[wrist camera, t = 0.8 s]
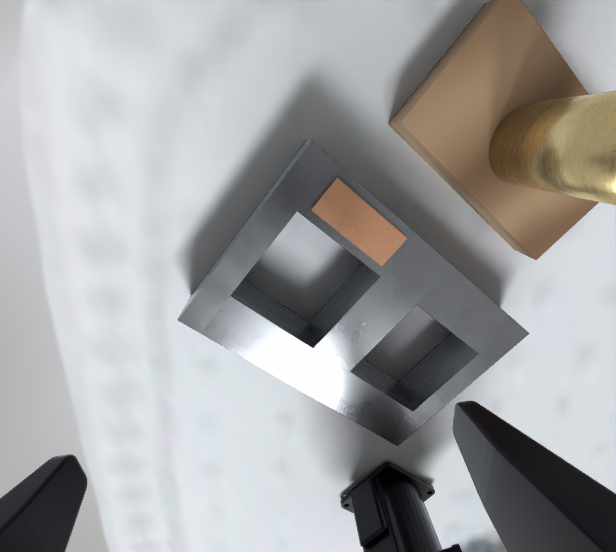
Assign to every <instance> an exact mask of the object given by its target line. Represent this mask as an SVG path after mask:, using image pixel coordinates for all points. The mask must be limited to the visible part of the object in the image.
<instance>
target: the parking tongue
mask: <svg viewBox="0 0 616 552" xmlns="http://www.w3.org/2000/svg"><path fill="white" fill-rule="evenodd" d="M582 95H589V94H588V93H587V92H586V90H585V89H584V87H583V86H582V85H581V83H580V82H579V80H578V79H577V77H576V76H575V75H574V73H573V72H572V70H571V69H570V68H569V66H568V65H567V63H566V62H565V60H564V59H563V58H562V56H561V55H560V53H559V52H558V51H557V49H556V48H555V46H554V45H553V43H552V42H551V41H550V39H549V38H548V36H547V35H546V34H545V32H544V31H543V29H542V28H541V26H540V25H539V24H538V22H537V21H536V19H535V18H534V17H533V15H532V14H531V12H530V11H529V9H528V8H527V7H526V5H525V4H524V2H523V1H522V0H490V1H489V2H487V3H486V4H485V5H484V6H483V8H482V9H481V10H480V11H479V13H478V14H477V15H476V16H475V18H474V19H473V20H472V21H471V22H470V24H469V25H468V26H467V27H466V29H465V30H464V31H463V32H462V34H461V35H460V36H459V37H458V39H457V40H456V41H455V42H454V43H453V45H452V46H451V47H450V48H449V50H448V51H447V52H446V53H445V55H444V56H443V57H442V58H441V60H440V61H439V62H438V63H437V64H436V66H435V67H434V68H433V69H432V71H431V72H430V73H429V74H428V76H427V77H426V78H425V79H424V81H423V82H422V83H421V84H420V86H419V87H418V88H417V89H416V90H415V92H414V93H413V94H412V95H411V97H410V98H409V99H408V100H407V102H406V103H405V104H404V105H403V107H402V108H401V109H400V110H399V111H398V113H397V114H396V115H395V116H394V118H393V119H392V120H391V121H390V123H389V125H390V126H391V127H392V128H393V129H394V130H395V131H396V132H397V133H398V134H399V135H400V136H401V137H402V138H403V139H404V140H405V141H406V142H407V143H408V144H409V145H410V146H411V147H412V148H413V149H414V150H415V151H416V152H417V153H418V154H419V155H420V156H421V157H422V158H423V159H424V160H425V161H426V162H427V163H428V164H429V165H430V166H431V167H432V168H433V169H434V170H435V171H436V172H437V173H438V174H439V175H440V176H441V177H442V178H443V179H444V180H445V181H446V182H447V183H448V184H449V185H450V186H451V187H452V188H453V189H454V190H455V191H456V192H457V193H458V194H459V195H460V196H461V197H462V198H463V199H464V200H465V201H466V202H467V203H468V204H469V205H470V206H471V207H472V208H473V209H474V210H475V211H476V212H477V213H478V214H479V215H480V216H481V217H482V218H483V219H484V220H485V221H486V222H487V223H488V224H489V225H490V226H491V227H492V228H493V229H494V230H495V231H496V232H497V233H498V234H499V235H500V236H501V237H502V238H503V239H504V240H505V241H506V242H507V243H508V244H509V245H510V246H511V247H512V248H513V249H514V250H516V251H518V252H520V253H522V254H525V255H527V256H529V257H531V258H533V259H535V260H537V259H538V258H539V257H540V256H541V255H542V254H543V253H545V252H546V251H547V250H548V249H549V248H550V247H551V246H552V245H553V244H554V243H555V242H556V241H558V240H559V239H560V238H561V237H562V236H563V235H564V234H565V233H566V232H567V231H568V230H569V229H571V228H572V227H573V226H574V225H575V224H576V223H577V222H578V221H579V220H580V219H581V218H582V217H584V216H585V215H586V214H587V213H588V212H589V211H590V210H591V209H592V208H593V207H594V206H595V205H597V204H598V203H599V202H597V201H593V200H588V199H583V198H578V197H573V196H568V195H563V194H558V193H553V192H548V191H543V190H538V189H533V188H528V187H523V186H518V185H513V184H509V183H506V182H504V181H502V180H500V179H499V178H498V177H497V176H496V175H495V174H494V172H493V170H492V168H491V166H490V161H489V147H490V142H491V139H492V136H493V134H494V132H495V130H496V128H497V127H498V125H499V124H500V122H501V121H502V120H503V119H504V118H505V117H506V116H507V115H508V114H509V113H510V112H511V111H513V110H514V109H516V108H517V107H519V106H521V105H524V104H527V103H532V102H539V101H546V100H553V99H561V98H568V97H575V96H582Z"/></svg>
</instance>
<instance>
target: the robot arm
mask: <svg viewBox="0 0 616 552" xmlns="http://www.w3.org/2000/svg"><path fill="white" fill-rule="evenodd" d="M453 433H454V437H455V439H456V442H457V444H458V447H459V449H460V451H461V454H462V456H463V459H464V461H465V463H466V466H467V468H468V471H469V473H470V475H471V478H472V480H473V482H474V485H475V487H476V490H477V492H478V494H479V497H480V499H481V501H482V503H483V506H484V508H485V510H486V512H487V514H488V516H489V518H490V519H491V521H492V523H493V525H494V527H495V529H496V531H497V533H498V535H499V536H500V538H501V540H502V542H503V544H504V546H505V548H506V550H507V552H616V494H615V493H614V492H612V491H611V490H609V489H608V488H606V487H605V486H603V485H602V484H600V483H599V482H597V481H596V480H594V479H592V478H591V477H589V476H588V475H586V474H585V473H583V472H582V471H580V470H579V469H577V468H576V467H574V466H573V465H571V464H570V463H568V462H567V461H565V460H564V459H562V458H561V457H559V456H557V455H556V454H554V453H553V452H551V451H550V450H548V449H547V448H545V447H544V446H542V445H541V444H539V443H538V442H536V441H535V440H533V439H532V438H530V437H529V436H527V435H526V434H524V433H522V432H521V431H519V430H518V429H516V428H515V427H513V426H512V425H510V424H509V423H507V422H506V421H504V420H503V419H501V418H500V417H498V416H497V415H495V414H494V413H492V412H490V411H489V410H487V409H486V408H484V407H483V406H481V405H480V404H478V403H477V402H474V401H466V402H459V403H457V404H456V405H455V411H454V420H453ZM86 488H87V477H86V475H85V473H84V471H83V469H82V467H81V465H80V464H79V462H78V460H77V458H76V457H75V456H74V455H62V456H56V457H53V458H51V459H50V460H48V461H47V462H46V463H44V464H43V465H42V466H41V467H39V468H38V469H37V470H36V471H35V472H33V473H32V474H31V475H29V476H28V477H27V478H26V479H24V480H23V481H22V482H21V483H19V484H18V485H17V486H16V487H14V488H13V489H12V490H11V491H9V492H8V493H7V494H5V495H4V496H3V497H2V498H0V552H65V550H66V548H67V545H68V542H69V539H70V536H71V533H72V530H73V527H74V524H75V521H76V518H77V515H78V512H79V509H80V506H81V503H82V500H83V497H84V494H85V491H86ZM434 493H435V490H434V488H433V486H432V485H430V484H428V483H426V482H425V481H423V480H421V479H419V478H417V477H415V476H414V475H412V474H410V473H408V472H406V471H404V470H403V469H401V468H399V467H397V466H395V465H393V464H392V463H389V462H387V463H384V464H382V465H381V466H380V467H379V468H378V469H377V470H375V471H374V472H373V473H372V474H371V475H370V476H368V477H367V478H366V479H365V480H364V481H362V482H361V483H360V484H359V485H358V486H357V487H355V488H354V489H353V490H352V491H351V492H350V493H348V494H347V495H346V496H345V497H344V498H342V499H341V506H342V508H344V509H346V510H348V511H350V512H352V513H354V515H355V520H356V526H357V531H358V536H359V541H360V545H361V546H362V547H363V550H364V552H462V550H461V548H460V546H459V544H454V545H452V547H450V548H447V549H444V550H442V547H441V545H440V542H439V540H438V537H437V535H436V532H435V530H434V527H433V525H432V522H431V519H430V517H429V514H428V512H427V509H426V507H425V504H424V501H426V500H427V499H428V498H430V497H431V496H432V495H433V494H434Z"/></svg>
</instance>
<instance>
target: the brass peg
mask: <svg viewBox="0 0 616 552" xmlns="http://www.w3.org/2000/svg"><path fill="white" fill-rule="evenodd" d="M489 161H490V166H491V168H492V170H493V172H494V174H495V175H496V176H497V177H498V178H499V179H500V180H502V181H504V182H506V183H509V184H513V185H518V186H523V187H528V188H533V189H538V190H543V191H548V192H553V193H558V194H563V195H568V196H573V197H578V198H583V199H588V200H593V201H597V202H602V203H607V204H612V205H616V91H611V92H604V93H597V94H590V95H582V96H575V97H568V98H561V99H553V100H546V101H539V102H532V103H527V104H524V105H521V106H519V107H517V108H516V109H514V110H513V111H511V112H510V113H509V114H508V115H507V116H506V117H505V118H504V119H503V120H502V121H501V122H500V124H499V125H498V127H497V128H496V130H495V132H494V134H493V136H492V139H491V142H490V147H489Z"/></svg>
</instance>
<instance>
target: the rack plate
mask: <svg viewBox="0 0 616 552" xmlns="http://www.w3.org/2000/svg"><path fill="white" fill-rule="evenodd" d="M297 211H298V212H299V213H300V214H302V215H303V216H304V217H305V218H307V219H308V220H309V221H310V222H312V223H313V224H314V225H316V226H317V227H318V228H319V229H321V230H322V231H323V232H324V233H326V234H327V235H328V236H330V237H331V238H332V239H333V240H335V241H336V242H337V243H339V244H340V245H341V246H342V247H344V248H345V249H346V250H347V251H349V252H350V253H351V254H353V255H354V256H355V257H356V258H358V259H359V260H360V261H361V262H363V264H362V265H361V266H360V267H359V268H358V270H357V271H356V272H355V273H354V274H353V275H352V276H351V277H350V278H349V279H348V281H347V282H346V283H345V284H344V285H343V286H342V287H341V288H340V289H339V291H338V292H337V293H336V294H335V295H334V296H333V297H332V298H331V299H330V301H329V302H328V303H327V304H326V305H325V306H324V307H323V308H322V309H321V311H320V312H319V313H318V314H317V315H316V316H315V317H314V318H313V319H312V320H311V322H310V323H308V322H307V321H305V320H304V319H302V318H301V317H299V316H298V315H296V314H295V313H293V312H292V311H290V310H289V309H287V308H286V307H284V306H283V305H281V304H280V303H278V302H277V301H275V300H274V299H272V298H271V297H269V296H268V295H266V294H265V293H263V292H262V291H260V290H259V289H257V288H255V287H254V286H252V285H251V284H249V283H248V282H246V281H245V280H243V279H244V278H245V276H246V275H247V274H248V273H249V271H250V270H251V269H252V267H253V266H254V265H255V264H256V262H257V261H258V260H259V259H260V257H261V256H262V255H263V254H264V252H265V251H266V250H267V248H268V247H269V246H270V245H271V243H272V242H273V241H274V240H275V238H276V237H277V236H278V234H279V233H280V232H281V231H282V229H283V228H284V227H285V226H286V224H287V223H288V222H289V220H290V219H291V218H292V217H293V215H294V214H295V213H296V212H297ZM416 305H418V306H419V307H420V308H421V309H423V310H424V311H425V312H426V313H428V314H429V315H430V316H432V317H433V318H434V319H435V320H437V321H438V322H439V323H440V324H442V325H443V326H444V327H446V328H447V329H448V330H449V331H451V332H452V333H451V334H450V335H449V336H448V337H447V338H445V339H444V340H443V341H442V342H441V343H440V344H439V345H438V346H437V347H436V348H435V349H434V350H432V351H431V352H430V353H429V354H428V355H427V356H426V357H425V358H424V359H423V360H422V361H421V362H420V363H418V364H417V365H416V366H415V367H414V368H413V369H412V370H411V371H410V372H409V373H408V374H407V375H406V376H404V377H403V378H402V379H401V380H400V381H399V382H398V381H396V380H395V379H393V378H392V377H390V376H389V375H387V374H386V373H384V372H383V371H381V370H380V369H378V368H377V367H375V366H374V365H372V364H371V363H369V362H368V361H366V360H365V359H363V358H364V357H365V356H366V355H367V354H368V353H369V352H370V351H371V350H372V349H373V348H374V347H375V346H376V345H377V344H378V343H379V342H380V341H381V340H382V339H383V338H384V337H385V336H386V335H387V334H388V333H389V332H390V331H391V330H392V329H393V328H394V327H395V326H396V325H397V324H398V323H399V322H400V321H401V320H402V319H403V318H404V317H405V316H406V315H407V314H408V313H409V312H410V311H411V310H412V309H413V308H414V307H415V306H416ZM178 321H180V322H182V323H183V324H185V325H187V326H189V327H190V328H192V329H194V330H196V331H197V332H199V333H201V334H203V335H204V336H206V337H208V338H210V339H211V340H213V341H215V342H217V343H218V344H220V345H222V346H224V347H225V348H227V349H229V350H231V351H232V352H234V353H236V354H238V355H239V356H241V357H243V358H245V359H246V360H248V361H250V362H252V363H253V364H255V365H257V366H259V367H260V368H262V369H264V370H266V371H267V372H269V373H271V374H273V375H274V376H276V377H278V378H279V379H281V380H283V381H285V382H286V383H288V384H290V385H292V386H293V387H295V388H297V389H299V390H300V391H302V392H304V393H306V394H307V395H309V396H311V397H313V398H314V399H316V400H318V401H320V402H321V403H323V404H325V405H327V406H328V407H330V408H332V409H334V410H335V411H337V412H339V413H341V414H342V415H344V416H346V417H348V418H349V419H351V420H353V421H355V422H356V423H358V424H360V425H362V426H363V427H365V428H367V429H369V430H370V431H372V432H374V433H376V434H377V435H379V436H381V437H383V438H384V439H386V440H388V441H390V442H391V443H393V444H395V445H397V446H399V445H400V444H401V443H402V442H403V441H404V440H406V439H407V438H408V437H409V436H410V435H411V434H413V433H414V432H415V431H416V430H417V429H418V428H420V427H421V426H422V425H423V424H424V423H425V422H427V421H428V420H429V419H430V418H431V417H432V416H434V415H435V414H436V413H437V412H438V411H439V410H441V409H442V408H443V407H444V406H445V405H446V404H448V403H449V402H450V401H451V400H452V399H454V398H455V397H456V396H457V395H458V394H459V393H461V392H462V391H463V390H464V389H465V388H466V387H468V386H469V385H470V384H471V383H472V382H473V381H475V380H476V379H477V378H478V377H479V376H480V375H482V374H483V373H484V372H485V371H486V370H487V369H489V368H490V367H491V366H492V365H493V364H494V363H496V362H497V361H498V360H499V359H500V358H501V357H503V356H504V355H505V354H506V353H507V352H508V351H510V350H511V349H512V348H513V347H514V346H515V345H517V344H518V343H519V342H520V341H521V340H522V339H524V338H525V337H526V336H527V335H528V334H529V333H528V332H527V331H526V330H525V329H524V328H523V327H522V326H521V325H519V324H518V323H517V322H516V321H515V320H514V319H513V318H511V317H510V316H509V315H508V314H507V313H506V312H505V311H504V310H502V309H501V308H500V307H499V306H498V305H497V304H496V303H495V302H493V301H492V300H491V299H490V298H489V297H488V296H487V295H485V294H484V293H483V292H482V291H481V290H480V289H479V288H478V287H476V286H475V285H474V284H473V283H472V282H471V281H470V280H468V279H467V278H466V277H465V276H464V275H463V274H462V273H461V272H459V271H458V270H457V269H456V268H455V267H454V266H453V265H451V264H450V263H449V262H448V261H447V260H446V259H445V258H444V257H442V256H441V255H440V254H439V253H438V252H437V251H436V250H435V249H433V248H432V247H431V246H430V245H429V244H428V243H427V242H425V241H424V240H423V239H422V238H421V237H420V236H419V235H418V234H416V233H415V232H414V231H413V230H412V229H411V228H410V227H408V226H407V225H406V224H405V223H404V222H403V221H402V220H401V219H399V218H398V217H397V216H396V215H395V214H394V213H393V212H391V211H390V210H389V209H388V208H387V207H386V206H385V205H384V204H382V203H381V202H380V201H379V200H378V199H377V198H376V197H375V196H373V195H372V194H371V193H370V192H369V191H368V190H367V189H365V188H364V187H363V186H362V185H361V184H360V183H359V182H358V181H356V180H355V179H354V178H353V177H352V176H351V175H350V174H348V173H347V172H346V171H345V170H344V169H343V168H342V167H341V166H339V165H338V164H337V163H336V162H335V161H334V160H333V159H332V158H330V157H329V156H328V155H327V154H326V153H325V152H324V151H322V150H321V149H320V148H319V147H318V146H317V145H316V144H315V143H313V142H312V141H308V140H307V141H306V142H305V143H304V145H303V146H302V147H301V149H300V150H299V151H298V153H297V154H296V155H295V157H294V158H293V159H292V161H291V162H290V163H289V165H288V166H287V167H286V169H285V170H284V171H283V173H282V174H281V175H280V177H279V178H278V180H277V181H276V182H275V184H274V185H273V186H272V188H271V189H270V190H269V192H268V193H267V194H266V196H265V197H264V198H263V200H262V201H261V202H260V204H259V205H258V206H257V208H256V209H255V210H254V212H253V213H252V214H251V216H250V217H249V219H248V220H247V221H246V223H245V224H244V225H243V227H242V228H241V229H240V231H239V232H238V233H237V235H236V236H235V237H234V239H233V240H232V241H231V243H230V244H229V245H228V247H227V248H226V249H225V251H224V252H223V253H222V255H221V256H220V257H219V259H218V260H217V262H216V263H215V264H214V266H213V267H212V268H211V270H210V271H209V272H208V274H207V275H206V276H205V278H204V279H203V280H202V282H201V283H200V284H199V286H198V287H197V288H196V290H195V291H194V292H193V294H192V295H191V297H190V298H189V300H188V302H187V304H186V306H185V307H184V309H183V311H182V313H181V314H180V316H179V318H178Z"/></svg>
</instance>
